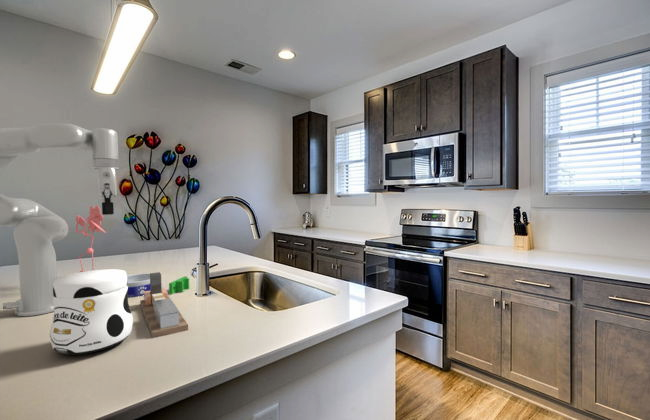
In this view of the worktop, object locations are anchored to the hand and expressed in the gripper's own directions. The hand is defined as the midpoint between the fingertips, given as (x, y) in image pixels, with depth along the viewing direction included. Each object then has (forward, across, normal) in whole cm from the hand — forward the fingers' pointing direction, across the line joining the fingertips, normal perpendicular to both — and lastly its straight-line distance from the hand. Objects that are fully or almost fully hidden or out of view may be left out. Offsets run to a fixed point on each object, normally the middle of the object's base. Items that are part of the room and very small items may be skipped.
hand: (107, 213), depth 114 cm
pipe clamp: (+33, +5, -24) cm, 41 cm away
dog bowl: (+33, +13, -9) cm, 36 cm away
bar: (+31, -18, -13) cm, 38 cm away
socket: (+31, -10, -13) cm, 35 cm away
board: (+32, -23, -13) cm, 42 cm away
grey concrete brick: (+31, -31, -13) cm, 46 cm away
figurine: (+32, +40, +4) cm, 52 cm away
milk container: (+33, -35, +4) cm, 48 cm away
